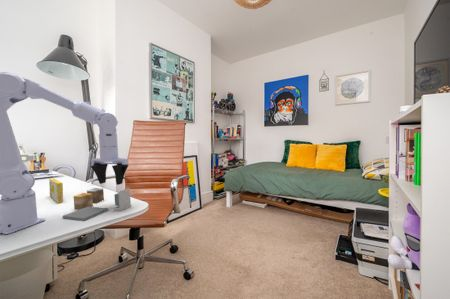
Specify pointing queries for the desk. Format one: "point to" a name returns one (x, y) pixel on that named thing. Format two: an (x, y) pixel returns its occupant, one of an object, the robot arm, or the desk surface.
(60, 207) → the desk surface
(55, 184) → the candy box
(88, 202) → the tan small block
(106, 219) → the desk surface
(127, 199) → the wall unit
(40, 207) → the desk surface
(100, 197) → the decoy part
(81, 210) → the parts mat
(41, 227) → the desk surface
